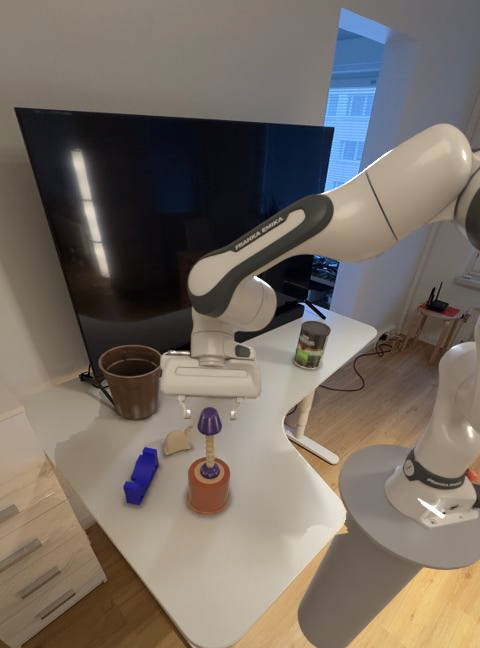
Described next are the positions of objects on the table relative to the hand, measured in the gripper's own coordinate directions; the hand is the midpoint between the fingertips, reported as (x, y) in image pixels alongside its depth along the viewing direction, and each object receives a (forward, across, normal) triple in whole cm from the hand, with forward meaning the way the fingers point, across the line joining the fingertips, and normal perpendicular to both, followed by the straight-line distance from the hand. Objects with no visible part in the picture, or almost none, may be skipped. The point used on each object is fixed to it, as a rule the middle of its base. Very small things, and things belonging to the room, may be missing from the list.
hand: (210, 419), depth 69 cm
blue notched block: (+15, -16, +14) cm, 26 cm away
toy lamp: (+11, 0, +5) cm, 12 cm away
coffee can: (-26, +36, +54) cm, 70 cm away
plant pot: (-5, -21, +34) cm, 40 cm away
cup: (+17, 0, +11) cm, 21 cm away
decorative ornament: (+6, -8, +22) cm, 25 cm away
